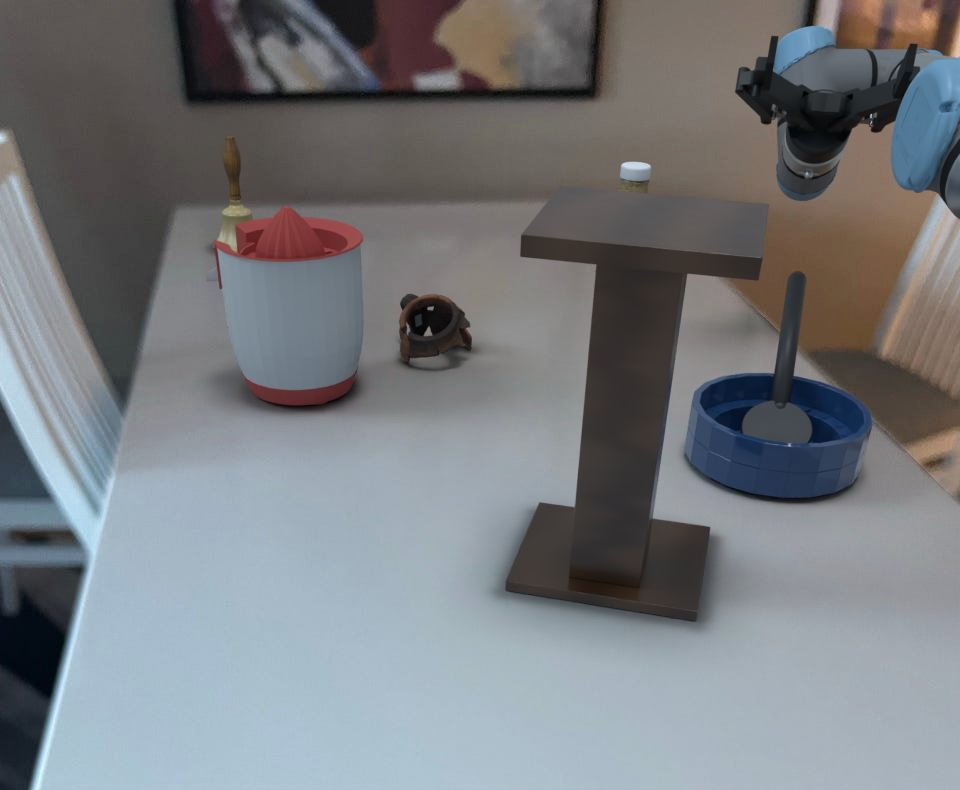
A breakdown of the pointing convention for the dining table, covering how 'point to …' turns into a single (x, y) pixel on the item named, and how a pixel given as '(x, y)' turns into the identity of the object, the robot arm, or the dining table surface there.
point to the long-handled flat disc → (783, 379)
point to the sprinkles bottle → (635, 177)
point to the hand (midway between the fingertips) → (841, 53)
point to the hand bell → (232, 195)
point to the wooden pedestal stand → (630, 393)
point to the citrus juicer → (294, 305)
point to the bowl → (773, 463)
